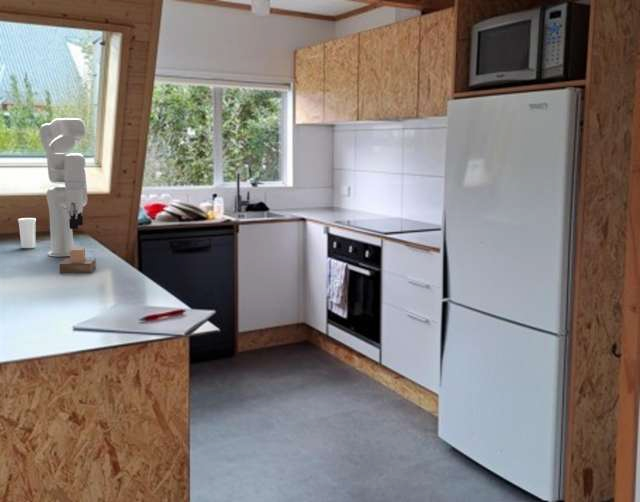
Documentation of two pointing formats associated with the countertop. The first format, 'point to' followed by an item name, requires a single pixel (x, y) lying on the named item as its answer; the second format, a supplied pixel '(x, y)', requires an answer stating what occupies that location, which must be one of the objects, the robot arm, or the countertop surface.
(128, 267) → the countertop surface
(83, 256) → the terracotta cube
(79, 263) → the walnut base
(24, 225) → the cup
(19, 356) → the countertop surface
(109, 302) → the countertop surface
